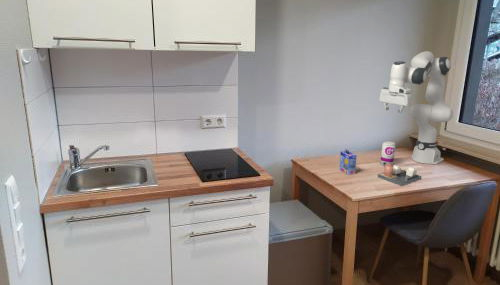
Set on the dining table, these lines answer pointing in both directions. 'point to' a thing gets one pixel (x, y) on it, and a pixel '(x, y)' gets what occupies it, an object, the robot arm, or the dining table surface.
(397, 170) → the toggle
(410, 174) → the toggle
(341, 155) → the ink cartridge box
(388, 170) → the cap
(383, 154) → the supplement can
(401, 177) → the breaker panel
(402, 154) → the dining table surface
